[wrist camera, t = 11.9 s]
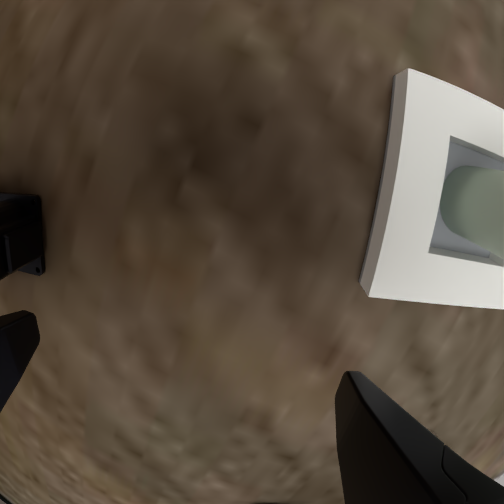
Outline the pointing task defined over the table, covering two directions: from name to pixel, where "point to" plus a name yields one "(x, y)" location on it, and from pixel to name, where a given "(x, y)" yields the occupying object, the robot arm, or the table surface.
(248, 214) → the table surface
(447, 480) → the robot arm
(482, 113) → the socket block
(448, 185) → the green post
